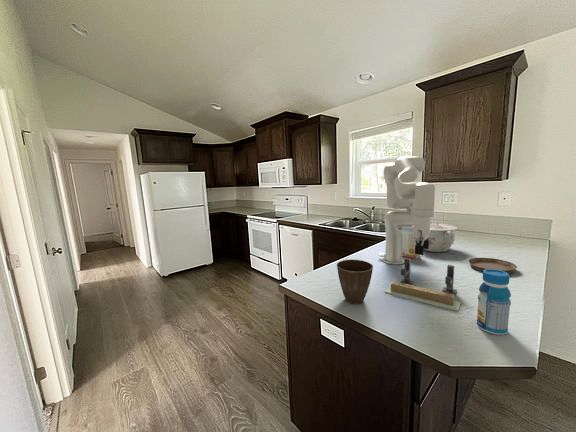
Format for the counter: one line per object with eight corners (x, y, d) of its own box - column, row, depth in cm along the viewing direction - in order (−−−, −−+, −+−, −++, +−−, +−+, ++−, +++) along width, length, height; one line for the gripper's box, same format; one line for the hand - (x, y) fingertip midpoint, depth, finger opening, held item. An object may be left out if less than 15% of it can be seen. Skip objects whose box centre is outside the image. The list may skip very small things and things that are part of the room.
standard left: (397, 285, 120) (397, 262, 118) (402, 279, 126) (403, 257, 125) (408, 288, 116) (409, 264, 115) (413, 281, 123) (414, 258, 121)
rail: (390, 290, 113) (390, 283, 113) (393, 288, 116) (393, 281, 116) (452, 306, 98) (453, 297, 98) (453, 302, 101) (454, 294, 100)
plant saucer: (472, 273, 131) (472, 267, 131) (464, 261, 150) (464, 255, 149) (523, 278, 122) (524, 271, 122) (508, 264, 141) (508, 259, 140)
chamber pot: (415, 243, 194) (416, 217, 191) (457, 247, 178) (459, 218, 175) (408, 252, 172) (409, 222, 169) (455, 258, 155) (457, 225, 153)
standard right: (440, 295, 108) (441, 269, 106) (443, 288, 115) (445, 263, 113) (454, 298, 105) (455, 271, 103) (456, 291, 112) (458, 265, 110)
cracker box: (420, 257, 160) (421, 225, 157) (416, 259, 156) (417, 226, 153) (399, 252, 171) (400, 223, 168) (394, 254, 167) (395, 224, 164)
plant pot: (378, 298, 108) (378, 263, 106) (363, 313, 97) (363, 274, 95) (347, 289, 118) (347, 257, 116) (330, 301, 107) (330, 266, 105)
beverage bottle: (498, 338, 79) (504, 279, 76) (470, 325, 86) (474, 270, 83) (513, 331, 82) (519, 274, 79) (485, 319, 90) (489, 266, 87)
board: (384, 292, 113) (384, 291, 113) (389, 287, 119) (389, 286, 118) (458, 311, 95) (458, 309, 95) (460, 303, 101) (460, 302, 101)
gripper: (418, 209, 114) (417, 245, 116) (408, 215, 101) (406, 255, 104) (437, 210, 109) (435, 247, 112) (429, 216, 96) (427, 258, 99)
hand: (421, 251), depth 108 cm, fingers open, 9 cm apart
